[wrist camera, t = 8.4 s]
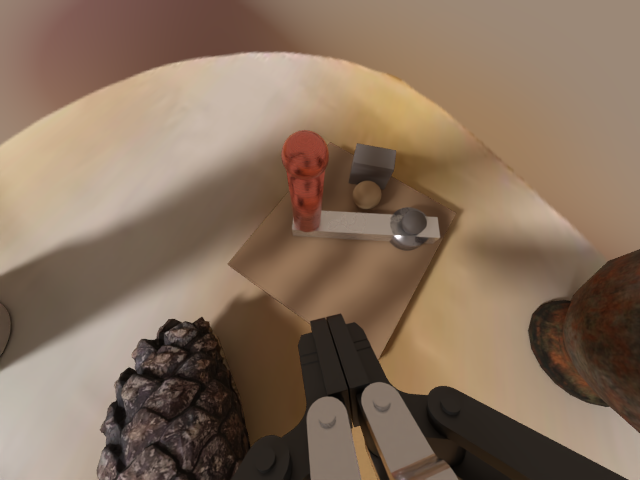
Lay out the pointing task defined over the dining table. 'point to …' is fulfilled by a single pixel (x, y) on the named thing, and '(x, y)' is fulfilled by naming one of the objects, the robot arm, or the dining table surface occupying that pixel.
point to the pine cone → (175, 411)
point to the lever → (309, 221)
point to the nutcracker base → (346, 249)
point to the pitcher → (596, 339)
